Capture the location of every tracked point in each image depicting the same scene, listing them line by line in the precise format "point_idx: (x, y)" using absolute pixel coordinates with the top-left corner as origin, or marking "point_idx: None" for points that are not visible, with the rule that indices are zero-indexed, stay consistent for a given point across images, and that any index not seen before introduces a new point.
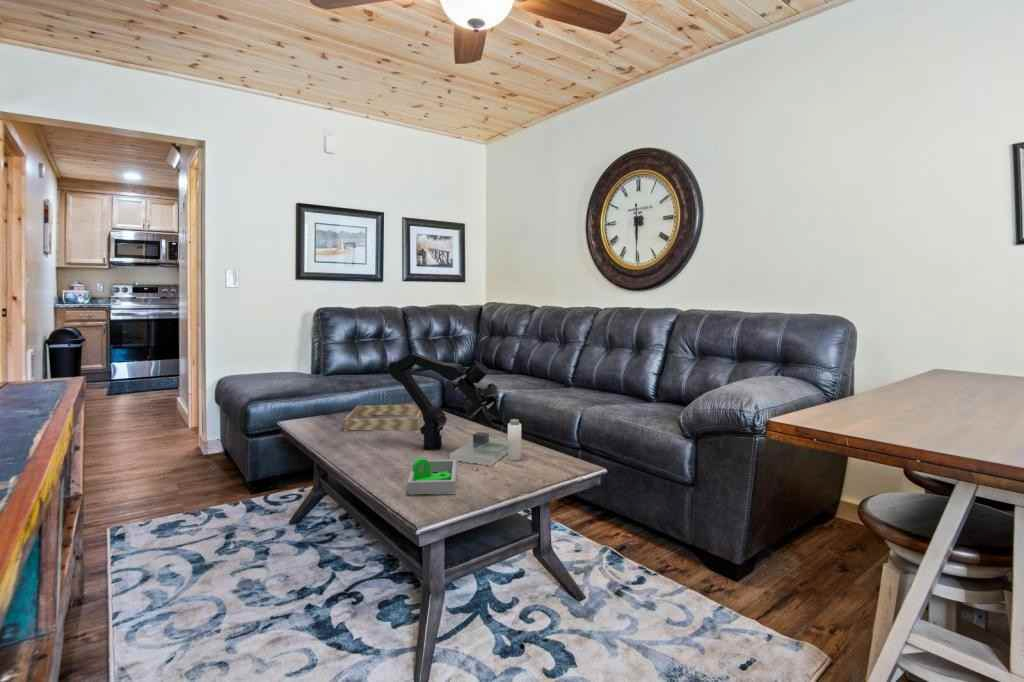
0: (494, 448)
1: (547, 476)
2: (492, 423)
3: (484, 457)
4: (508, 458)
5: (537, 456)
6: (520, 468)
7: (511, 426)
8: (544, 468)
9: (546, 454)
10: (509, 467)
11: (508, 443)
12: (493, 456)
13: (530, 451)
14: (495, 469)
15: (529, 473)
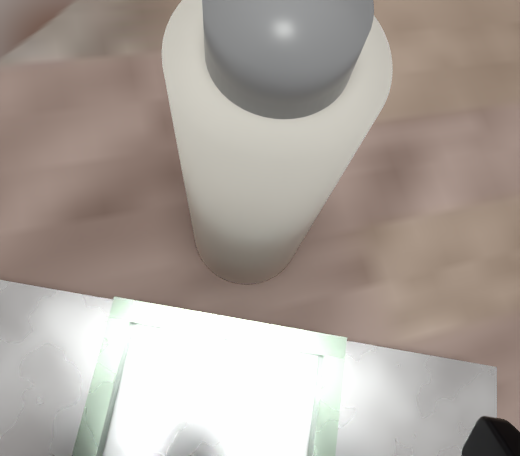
0: (182, 423)
1: (501, 7)
2: (505, 431)
3: None
4: (283, 268)
5: (161, 90)
6: (432, 158)
7: (387, 89)
8: (384, 30)
9: (106, 41)
10: (440, 229)
11: (303, 233)
12: (418, 364)
13: (47, 149)
14: (514, 315)
15: (496, 96)
